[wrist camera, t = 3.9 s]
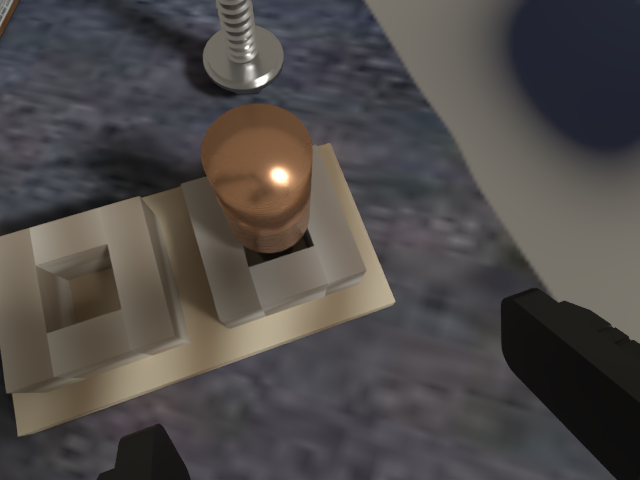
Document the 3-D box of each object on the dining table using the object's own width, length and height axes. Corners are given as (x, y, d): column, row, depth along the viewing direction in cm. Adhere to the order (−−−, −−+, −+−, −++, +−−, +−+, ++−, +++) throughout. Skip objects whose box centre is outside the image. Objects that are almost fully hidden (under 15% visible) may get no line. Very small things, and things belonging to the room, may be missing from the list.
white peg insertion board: (33, 433, 21) (-29, 444, 17) (6, 248, 24) (-52, 221, 20) (391, 305, 24) (408, 289, 20) (328, 153, 27) (333, 112, 23)
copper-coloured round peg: (227, 244, 24) (177, 148, 14) (276, 202, 24) (261, 85, 15) (273, 291, 23) (252, 224, 13) (322, 246, 24) (335, 152, 14)
